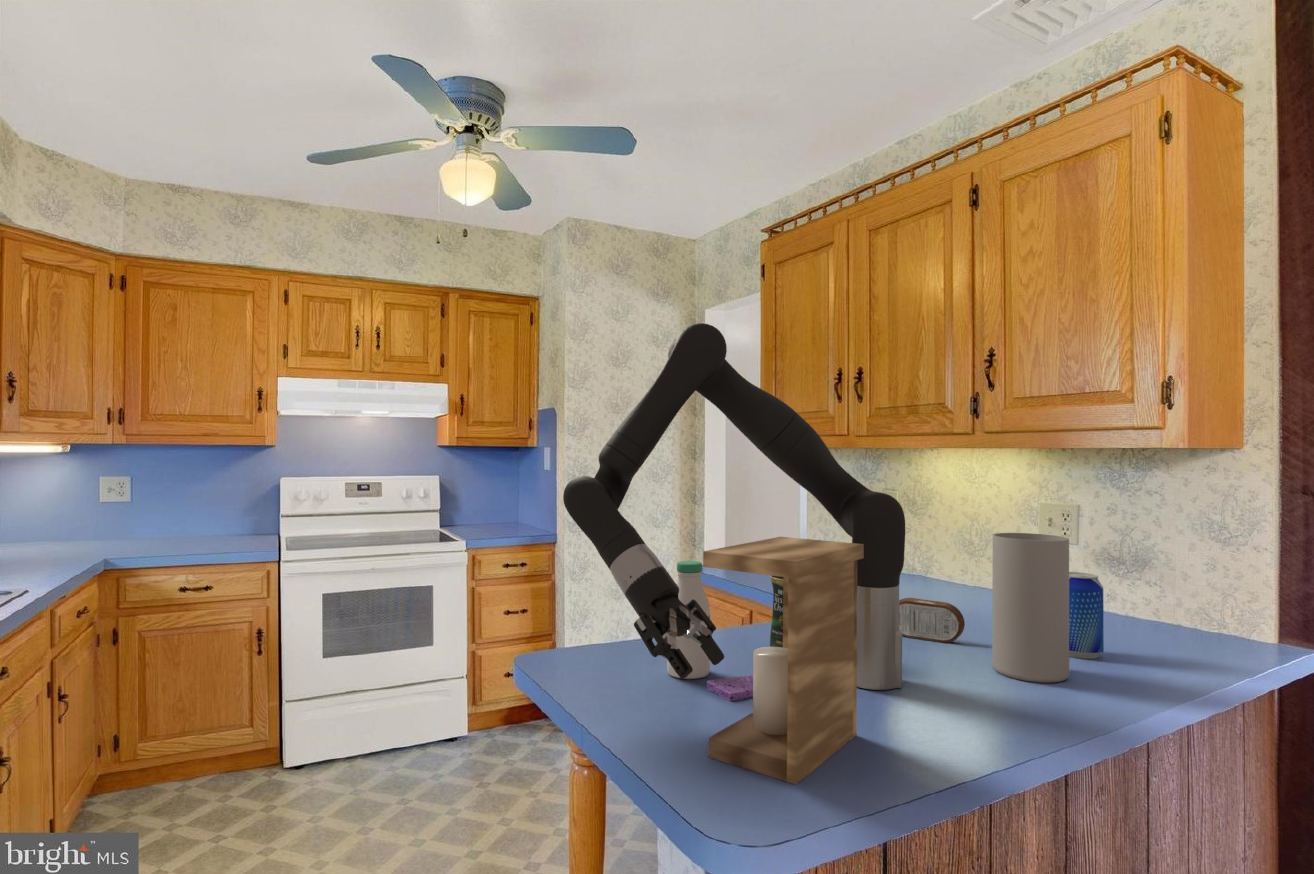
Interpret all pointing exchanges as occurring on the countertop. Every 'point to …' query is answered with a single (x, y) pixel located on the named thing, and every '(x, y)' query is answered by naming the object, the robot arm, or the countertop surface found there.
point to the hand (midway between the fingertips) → (704, 668)
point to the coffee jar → (777, 612)
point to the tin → (930, 620)
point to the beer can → (1085, 616)
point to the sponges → (733, 687)
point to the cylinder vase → (1030, 606)
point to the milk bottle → (691, 649)
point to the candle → (770, 690)
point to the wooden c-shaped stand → (802, 654)
